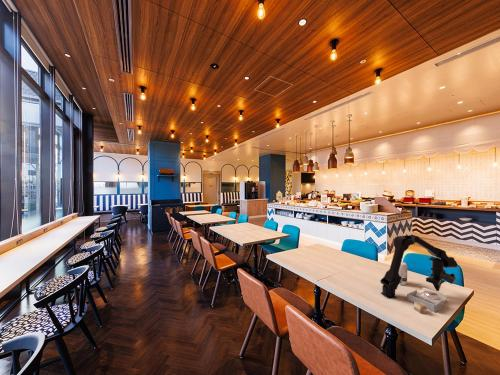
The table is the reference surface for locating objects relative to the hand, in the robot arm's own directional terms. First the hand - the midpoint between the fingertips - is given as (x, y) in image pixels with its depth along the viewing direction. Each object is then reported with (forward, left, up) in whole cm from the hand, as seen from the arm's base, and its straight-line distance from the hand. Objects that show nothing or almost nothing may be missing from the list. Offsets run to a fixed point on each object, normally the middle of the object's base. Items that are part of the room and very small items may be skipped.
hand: (437, 290), depth 135 cm
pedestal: (-26, -15, -3) cm, 30 cm away
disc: (-9, -4, -1) cm, 10 cm away
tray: (-9, -4, -3) cm, 10 cm away
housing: (-16, -8, -3) cm, 18 cm away
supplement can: (-10, +18, -3) cm, 21 cm away
